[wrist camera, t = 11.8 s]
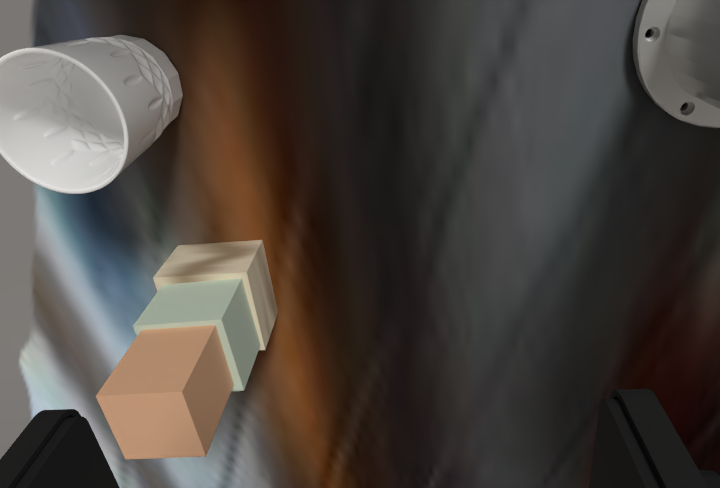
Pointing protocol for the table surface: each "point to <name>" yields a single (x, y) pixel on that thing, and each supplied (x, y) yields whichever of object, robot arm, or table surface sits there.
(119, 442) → the terracotta block
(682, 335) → the table surface
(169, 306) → the sage top block
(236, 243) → the beech base block
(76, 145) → the white cup
